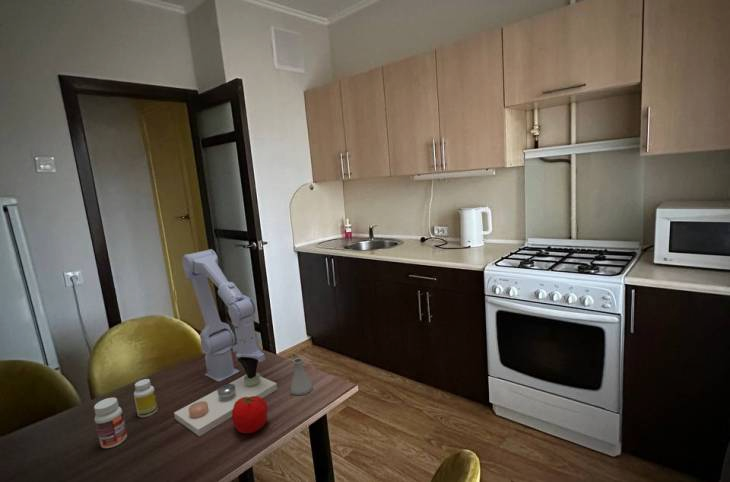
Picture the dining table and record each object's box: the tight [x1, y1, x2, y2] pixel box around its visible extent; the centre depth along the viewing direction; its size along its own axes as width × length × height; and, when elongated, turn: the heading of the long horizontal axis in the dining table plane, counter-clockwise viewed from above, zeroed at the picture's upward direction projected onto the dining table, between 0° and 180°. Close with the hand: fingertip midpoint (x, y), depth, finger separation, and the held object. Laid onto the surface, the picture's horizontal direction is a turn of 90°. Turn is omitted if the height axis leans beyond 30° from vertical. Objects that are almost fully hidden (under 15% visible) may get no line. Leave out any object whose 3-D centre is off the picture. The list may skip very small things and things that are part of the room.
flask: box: [290, 357, 313, 396], centre depth 118 cm, size 7×7×10 cm
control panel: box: [173, 374, 278, 437], centre depth 115 cm, size 14×26×2 cm, turn 141°
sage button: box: [244, 372, 261, 386], centre depth 121 cm, size 5×5×2 cm
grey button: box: [216, 383, 236, 398], centre depth 114 cm, size 5×5×2 cm
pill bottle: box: [93, 397, 128, 449], centre depth 101 cm, size 6×6×11 cm
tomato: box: [231, 396, 269, 434], centre depth 102 cm, size 9×10×8 cm
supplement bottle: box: [133, 378, 159, 418], centre depth 114 cm, size 5×5×10 cm
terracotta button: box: [189, 401, 208, 418], centre depth 108 cm, size 5×5×2 cm
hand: (252, 376), depth 121 cm, fingers closed, pressing on sage button
